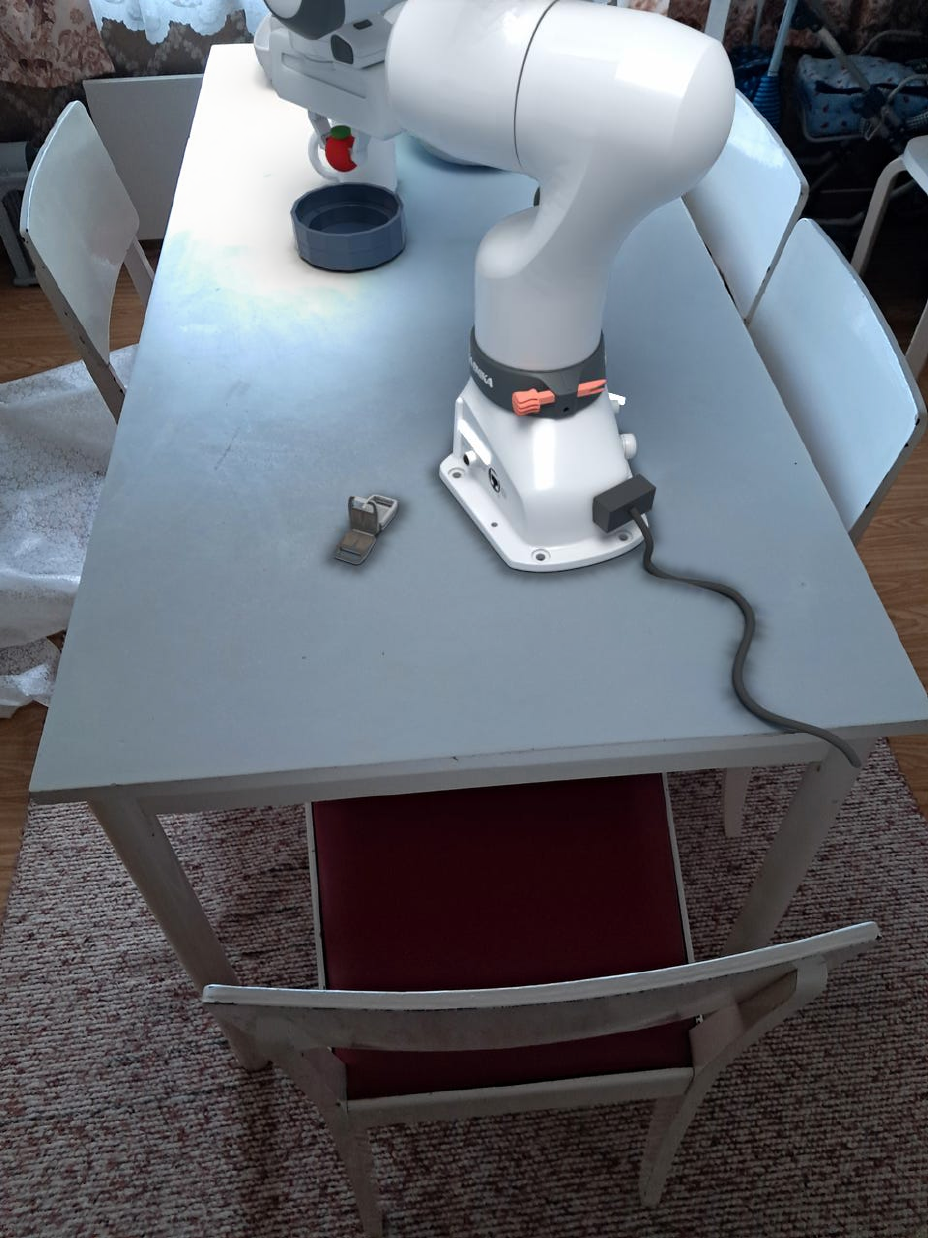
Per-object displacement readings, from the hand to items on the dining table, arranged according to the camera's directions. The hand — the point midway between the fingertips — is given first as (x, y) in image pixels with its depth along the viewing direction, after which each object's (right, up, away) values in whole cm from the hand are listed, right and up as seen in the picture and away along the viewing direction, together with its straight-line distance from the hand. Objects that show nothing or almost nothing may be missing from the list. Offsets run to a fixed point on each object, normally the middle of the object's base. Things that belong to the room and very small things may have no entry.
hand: (344, 155), depth 106 cm
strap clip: (+5, -48, -24) cm, 54 cm away
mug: (-1, +5, +18) cm, 19 cm away
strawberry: (0, -1, +1) cm, 2 cm away
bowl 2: (0, -7, +9) cm, 11 cm away
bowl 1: (-10, +38, +46) cm, 60 cm away
